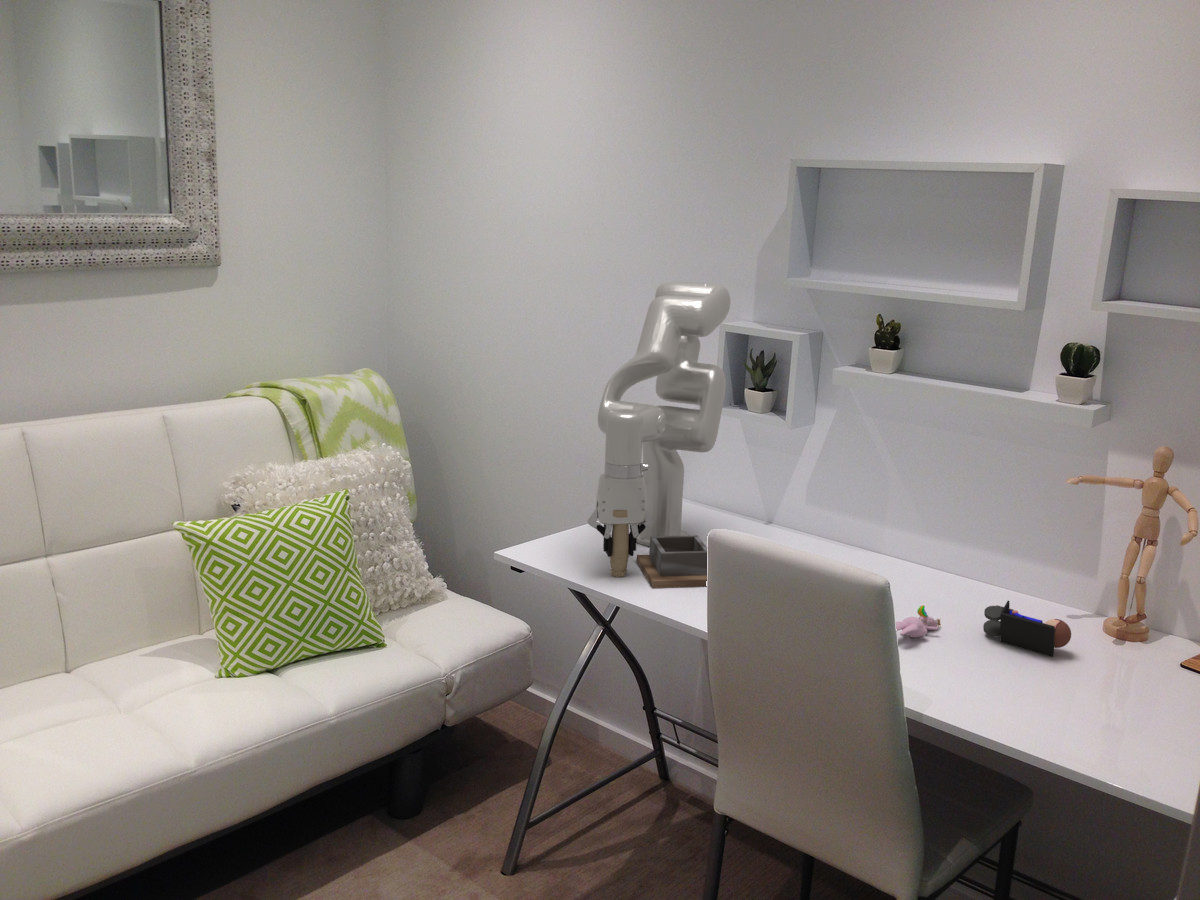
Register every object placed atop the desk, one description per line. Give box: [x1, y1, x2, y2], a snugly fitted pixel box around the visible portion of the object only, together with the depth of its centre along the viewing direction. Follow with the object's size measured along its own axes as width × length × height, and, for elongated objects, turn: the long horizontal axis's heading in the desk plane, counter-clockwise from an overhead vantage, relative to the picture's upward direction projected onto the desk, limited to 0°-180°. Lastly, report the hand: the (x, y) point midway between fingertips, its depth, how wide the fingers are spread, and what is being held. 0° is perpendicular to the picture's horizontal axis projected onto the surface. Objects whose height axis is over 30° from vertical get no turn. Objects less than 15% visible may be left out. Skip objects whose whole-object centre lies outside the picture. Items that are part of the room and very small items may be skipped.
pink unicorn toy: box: [895, 604, 942, 639], centre depth 193 cm, size 6×6×15 cm
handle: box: [609, 510, 630, 578], centre depth 217 cm, size 5×6×15 cm
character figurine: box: [982, 600, 1072, 658], centre depth 189 cm, size 8×7×15 cm
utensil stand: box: [635, 535, 708, 589], centre depth 220 cm, size 16×15×6 cm
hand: (619, 553), depth 218 cm, fingers closed on handle, 4 cm apart
